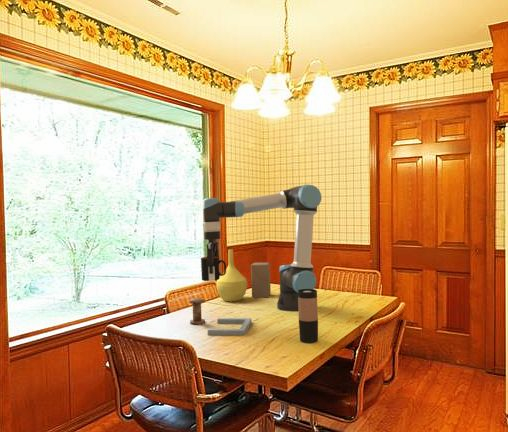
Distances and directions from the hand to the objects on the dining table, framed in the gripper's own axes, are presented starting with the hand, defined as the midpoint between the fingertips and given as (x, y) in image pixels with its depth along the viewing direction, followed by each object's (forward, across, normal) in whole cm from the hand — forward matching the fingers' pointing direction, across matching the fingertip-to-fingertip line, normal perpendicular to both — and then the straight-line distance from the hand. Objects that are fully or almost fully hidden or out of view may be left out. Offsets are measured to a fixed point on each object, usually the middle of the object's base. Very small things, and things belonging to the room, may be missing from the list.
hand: (214, 278), depth 198 cm
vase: (+21, -50, -2) cm, 54 cm away
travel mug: (+21, +25, +44) cm, 55 cm away
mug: (0, 0, 0) cm, 0 cm away
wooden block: (+22, -61, +14) cm, 66 cm away
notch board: (+21, +9, +9) cm, 24 cm away
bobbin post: (+21, 0, -9) cm, 23 cm away
